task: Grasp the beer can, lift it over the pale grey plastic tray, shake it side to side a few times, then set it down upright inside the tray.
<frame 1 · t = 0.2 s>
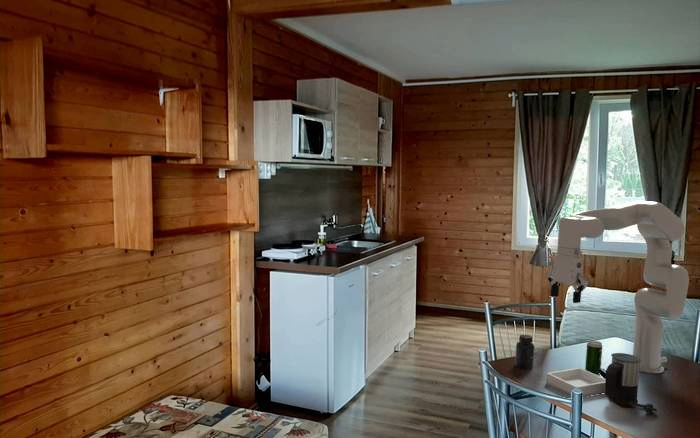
hand: (565, 299, 199), 31 cm above the table, tool pointing down, fingers open, 9 cm apart
supplement bottle: (524, 366, 218), on the table
milk frother: (631, 405, 184), on the table
beer can: (592, 373, 212), on the table
tray: (577, 388, 197), on the table
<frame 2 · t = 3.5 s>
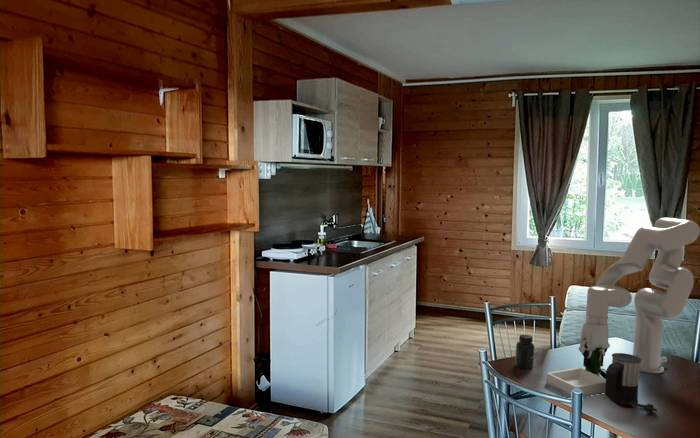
hand: (593, 365, 212), 3 cm above the table, tool pointing down, fingers closed on beer can, 5 cm apart
beer can: (592, 373, 212), on the table, touching gripper
everything else where it was.
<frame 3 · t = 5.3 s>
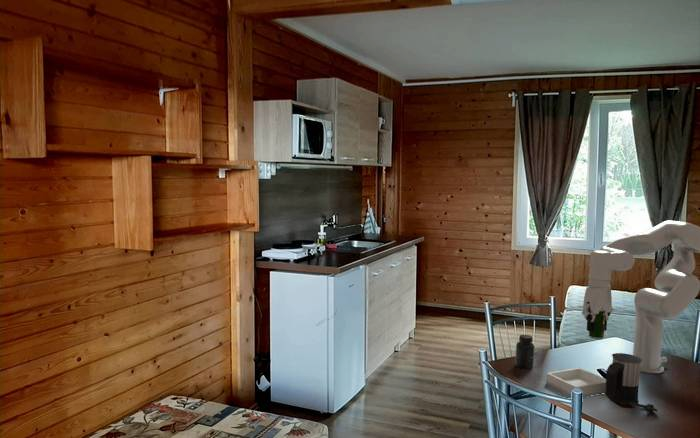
hand: (596, 330, 211), 17 cm above the table, tool pointing down, fingers closed on beer can, 5 cm apart
beer can: (596, 338, 211), point 14 cm above the table, touching gripper
everything else where it was.
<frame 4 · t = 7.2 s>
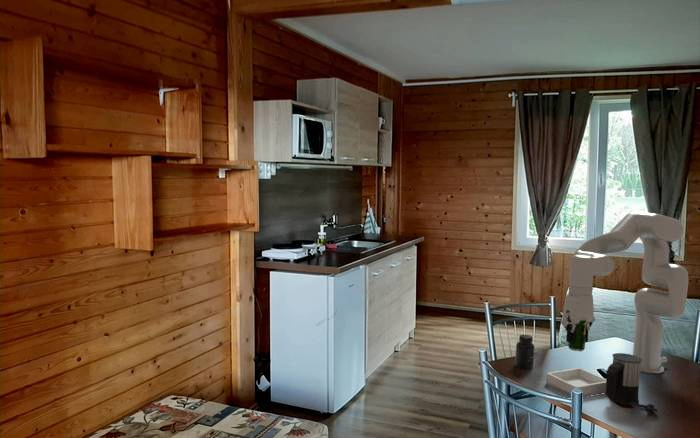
hand: (576, 341, 195), 17 cm above the table, tool pointing down, fingers closed on beer can, 5 cm apart
beer can: (576, 349, 195), point 14 cm above the table, touching gripper
everything else where it was.
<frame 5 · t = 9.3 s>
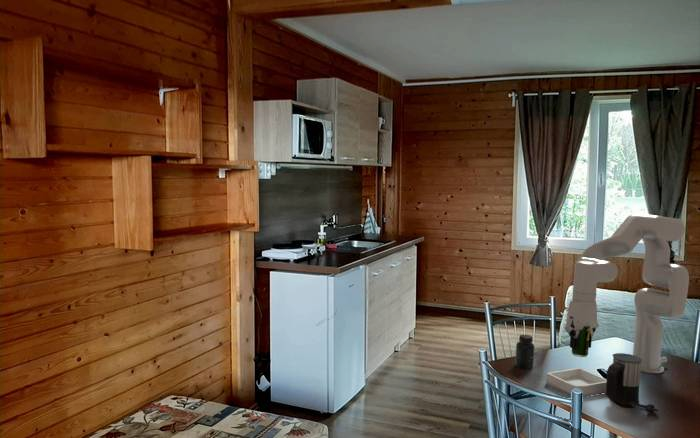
hand: (580, 347, 196), 15 cm above the table, tool pointing down, fingers closed on beer can, 5 cm apart
beer can: (579, 355, 196), point 12 cm above the table, touching gripper
everything else where it was.
when the fingers open (6 cm above the table, at t = 11.2 s): beer can drops 2 cm, resting on tray.
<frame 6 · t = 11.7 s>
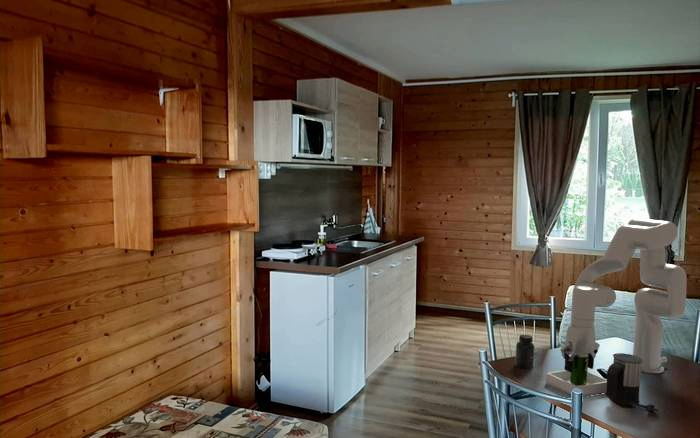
hand: (578, 369, 197), 7 cm above the table, tool pointing down, fingers open, 9 cm apart
beer can: (578, 385, 197), point 1 cm above the table, touching tray
everything else where it was.
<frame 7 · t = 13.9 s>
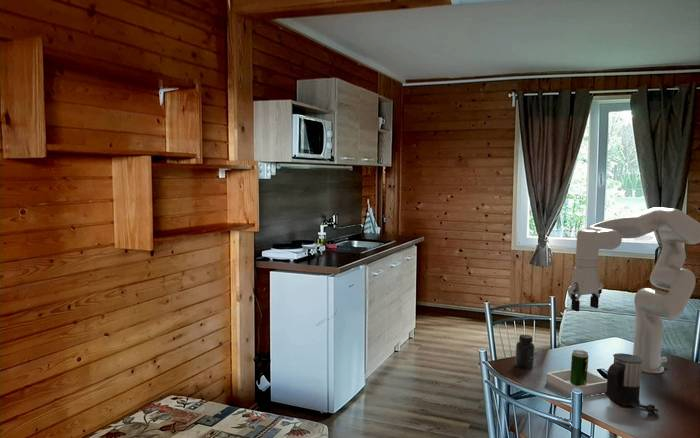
hand: (584, 309, 206), 26 cm above the table, tool pointing down, fingers open, 9 cm apart
nothing on the table moved.
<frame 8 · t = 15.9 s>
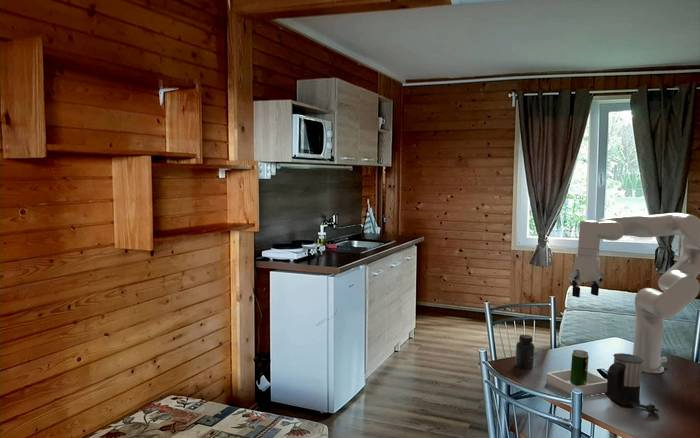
hand: (585, 295, 216), 28 cm above the table, tool pointing down, fingers open, 9 cm apart
nothing on the table moved.
at the end: beer can inside the target area on the tray (0.3 cm from its centre), point 0.8 cm above the tray's base; beer can tilted 0°; the gripper is holding nothing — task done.
